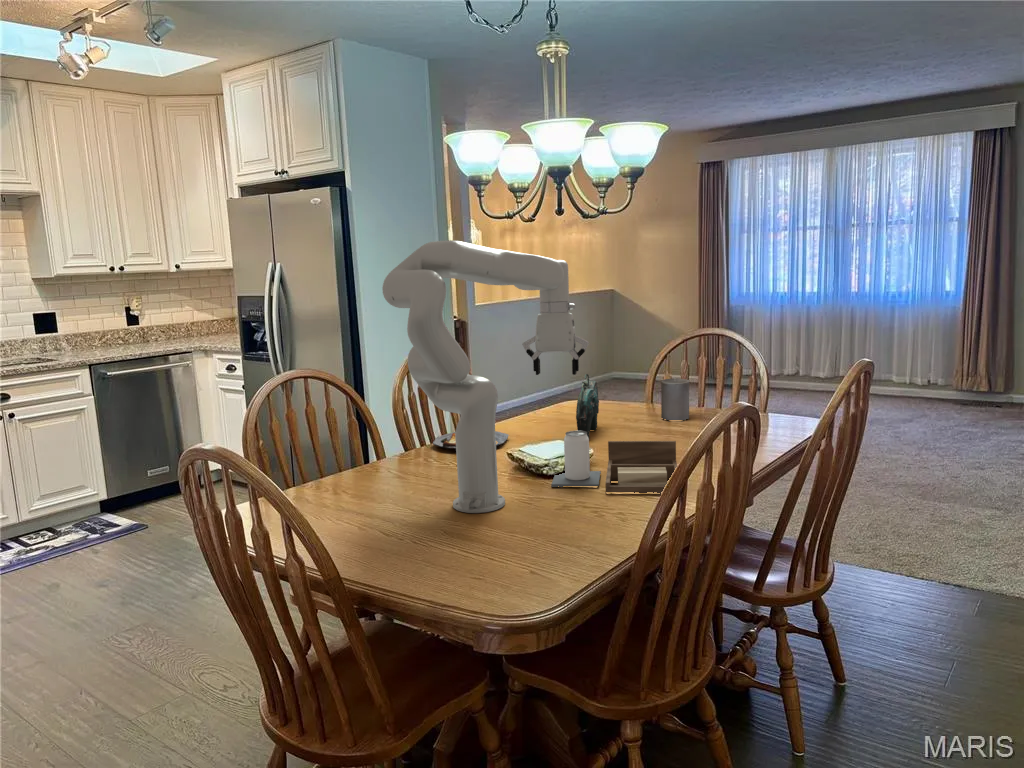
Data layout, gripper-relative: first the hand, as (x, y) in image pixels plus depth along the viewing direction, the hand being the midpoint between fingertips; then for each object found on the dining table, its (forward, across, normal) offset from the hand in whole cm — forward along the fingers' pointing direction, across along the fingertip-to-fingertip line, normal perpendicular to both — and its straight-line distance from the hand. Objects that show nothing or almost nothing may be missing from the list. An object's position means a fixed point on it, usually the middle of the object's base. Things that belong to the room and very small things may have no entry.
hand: (556, 374), depth 197 cm
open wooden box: (+28, -22, +2) cm, 36 cm away
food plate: (+28, +34, -36) cm, 57 cm away
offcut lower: (+28, -22, +7) cm, 37 cm away
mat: (+28, -5, +3) cm, 29 cm away
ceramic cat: (+28, -3, -49) cm, 56 cm away
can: (+27, -6, +3) cm, 28 cm away
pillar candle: (+27, -31, -74) cm, 84 cm away
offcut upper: (+26, -22, +7) cm, 35 cm away
